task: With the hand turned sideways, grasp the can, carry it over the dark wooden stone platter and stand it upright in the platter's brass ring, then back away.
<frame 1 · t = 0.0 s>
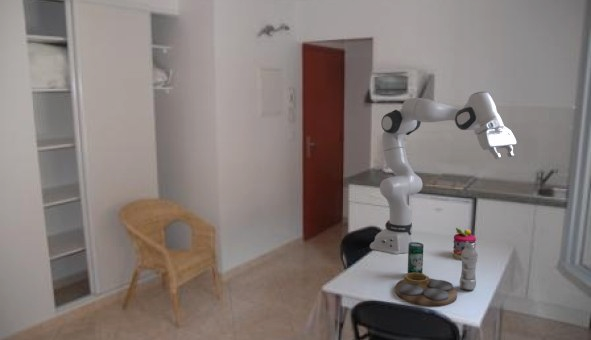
hand: (504, 157, 193), 54 cm above the table, tool tilted 30°, fingers open, 8 cm apart
can: (414, 277, 210), on the table
wooden stone platter: (425, 293, 192), on the table
plastic bottle: (467, 289, 196), on the table
cake: (463, 257, 234), on the table
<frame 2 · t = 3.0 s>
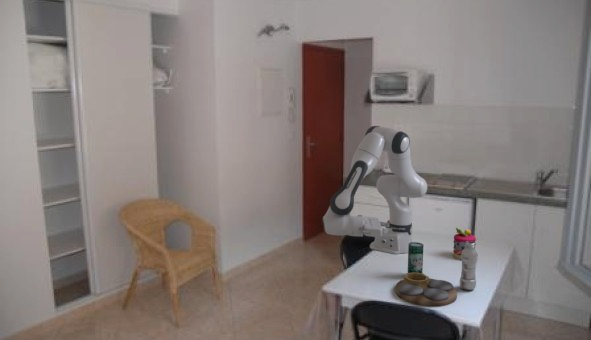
hand: (390, 227, 207), 22 cm above the table, tool horizontal, fingers open, 8 cm apart
nothing on the table moved.
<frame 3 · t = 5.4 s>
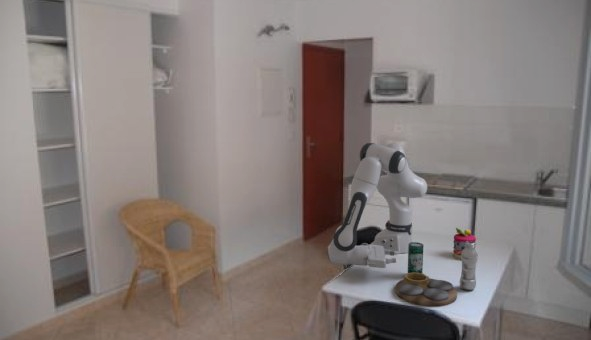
hand: (395, 256, 209), 9 cm above the table, tool horizontal, fingers open, 8 cm apart
nothing on the table moved.
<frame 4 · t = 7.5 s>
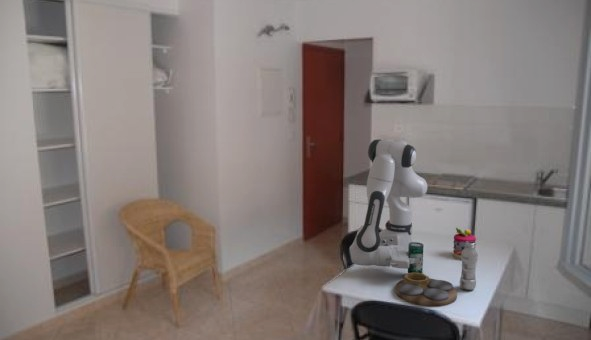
hand: (417, 257, 208), 9 cm above the table, tool horizontal, fingers closed on can, 6 cm apart
can: (414, 277, 210), on the table, touching gripper
everything else where it was.
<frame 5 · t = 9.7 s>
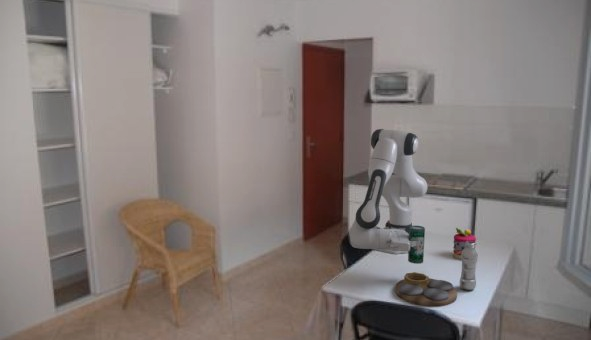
hand: (418, 240, 201), 18 cm above the table, tool horizontal, fingers closed on can, 6 cm apart
can: (415, 261, 203), point 9 cm above the table, touching gripper
everything else where it was.
when the fingers open (12 cm above the table, at t = 12.1 s): can drops 1 cm, resting on wooden stone platter.
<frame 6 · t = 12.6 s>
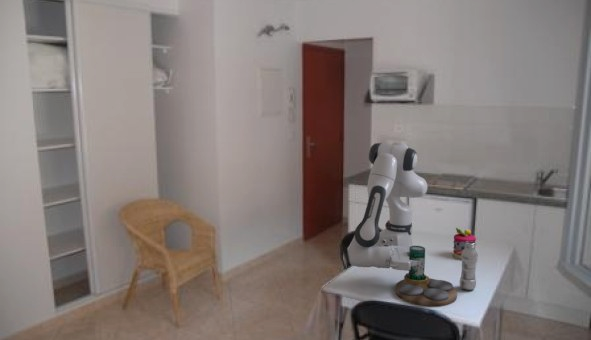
hand: (419, 258, 196), 12 cm above the table, tool horizontal, fingers open, 8 cm apart
can: (416, 282, 198), point 2 cm above the table, touching wooden stone platter
everything else where it was.
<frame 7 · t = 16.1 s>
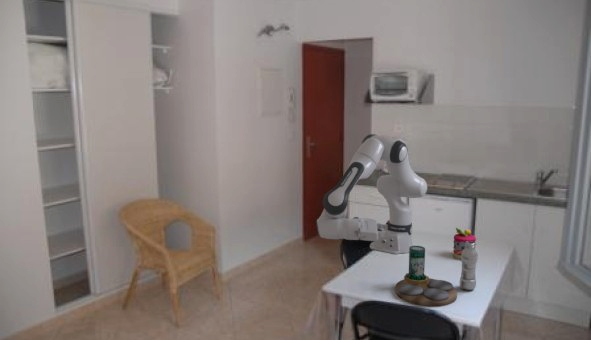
hand: (388, 230, 196), 24 cm above the table, tool horizontal, fingers open, 8 cm apart
nothing on the table moved.
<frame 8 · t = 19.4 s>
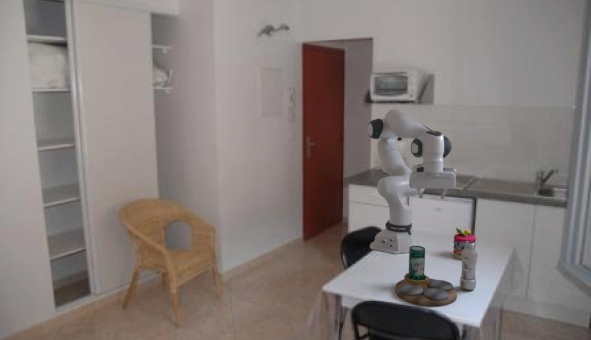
hand: (431, 198, 211), 34 cm above the table, tool pointing down, fingers open, 8 cm apart
nothing on the table moved.
at the end: can 0.2 cm from the target spot on the wooden stone platter, point 1.8 cm above the wooden stone platter's base; can tilted 0°; the gripper is holding nothing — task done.
